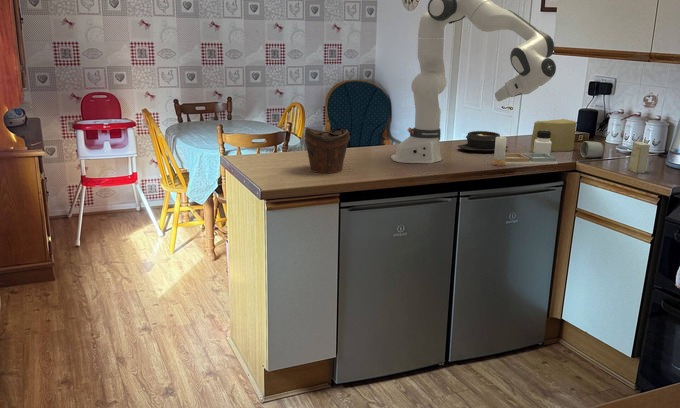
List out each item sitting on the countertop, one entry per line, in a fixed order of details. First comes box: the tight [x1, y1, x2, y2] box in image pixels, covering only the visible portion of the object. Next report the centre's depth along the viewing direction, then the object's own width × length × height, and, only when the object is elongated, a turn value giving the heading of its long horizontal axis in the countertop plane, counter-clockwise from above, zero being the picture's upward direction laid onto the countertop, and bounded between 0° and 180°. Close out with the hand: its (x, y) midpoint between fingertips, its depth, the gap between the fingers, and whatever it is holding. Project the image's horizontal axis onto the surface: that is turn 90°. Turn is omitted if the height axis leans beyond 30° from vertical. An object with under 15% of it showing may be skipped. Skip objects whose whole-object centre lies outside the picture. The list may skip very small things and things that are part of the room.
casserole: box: [457, 130, 509, 153], centre depth 299 cm, size 25×19×8 cm
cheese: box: [530, 118, 577, 153], centre depth 299 cm, size 22×10×15 cm, turn 112°
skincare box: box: [628, 141, 651, 174], centre depth 258 cm, size 6×4×12 cm
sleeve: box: [492, 136, 508, 167], centre depth 267 cm, size 5×5×12 cm
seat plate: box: [505, 152, 559, 165], centre depth 277 cm, size 24×13×2 cm, turn 95°
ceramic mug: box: [579, 140, 605, 159], centre depth 287 cm, size 11×8×8 cm
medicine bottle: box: [532, 130, 552, 156], centre depth 287 cm, size 7×7×12 cm
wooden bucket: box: [304, 127, 351, 174], centre depth 253 cm, size 18×20×18 cm
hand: (508, 94), depth 259 cm, fingers open, 8 cm apart
